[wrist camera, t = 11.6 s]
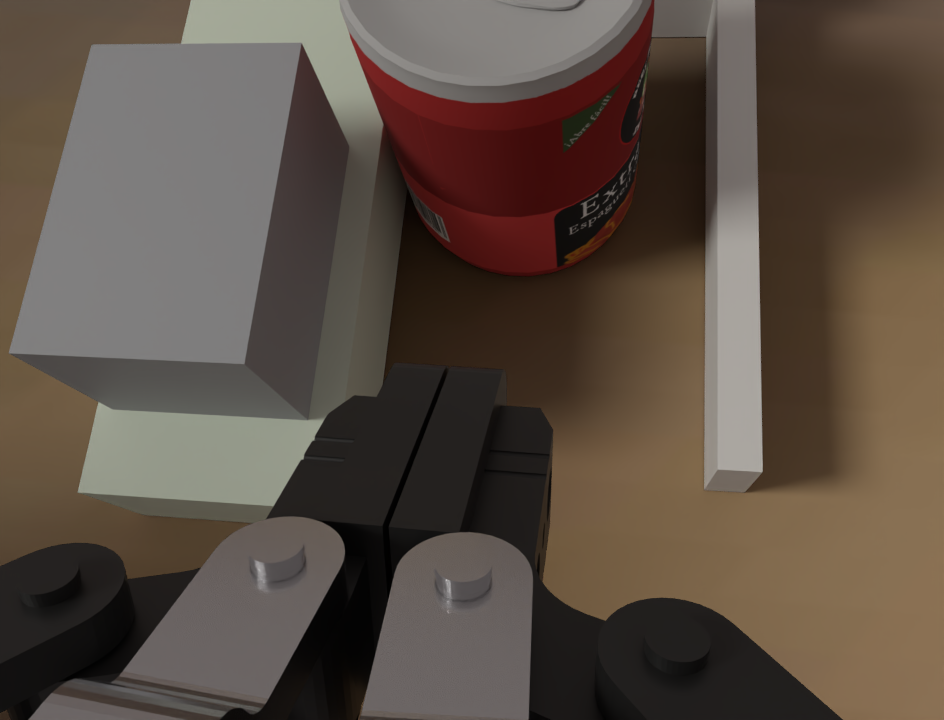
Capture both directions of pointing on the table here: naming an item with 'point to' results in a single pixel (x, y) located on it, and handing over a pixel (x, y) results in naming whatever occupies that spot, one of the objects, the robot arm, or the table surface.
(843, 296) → the table surface
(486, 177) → the canned food
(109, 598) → the robot arm
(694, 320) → the table surface
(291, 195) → the white open tray
